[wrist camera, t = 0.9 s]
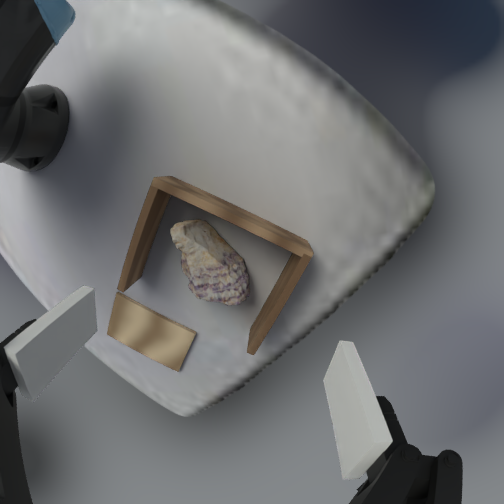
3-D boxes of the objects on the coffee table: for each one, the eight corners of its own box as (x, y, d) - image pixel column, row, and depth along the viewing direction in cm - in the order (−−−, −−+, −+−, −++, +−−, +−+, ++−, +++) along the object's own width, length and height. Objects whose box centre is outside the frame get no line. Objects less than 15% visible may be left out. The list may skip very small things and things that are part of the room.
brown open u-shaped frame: (135, 273, 40) (117, 289, 35) (171, 176, 36) (154, 177, 30) (256, 331, 42) (253, 355, 36) (307, 240, 37) (313, 253, 32)
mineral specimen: (162, 244, 39) (144, 256, 33) (196, 208, 37) (182, 215, 31) (224, 307, 41) (217, 328, 35) (261, 276, 39) (259, 294, 33)
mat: (108, 332, 44) (106, 334, 43) (118, 291, 41) (116, 293, 41) (179, 369, 45) (178, 371, 44) (196, 332, 42) (195, 334, 42)
